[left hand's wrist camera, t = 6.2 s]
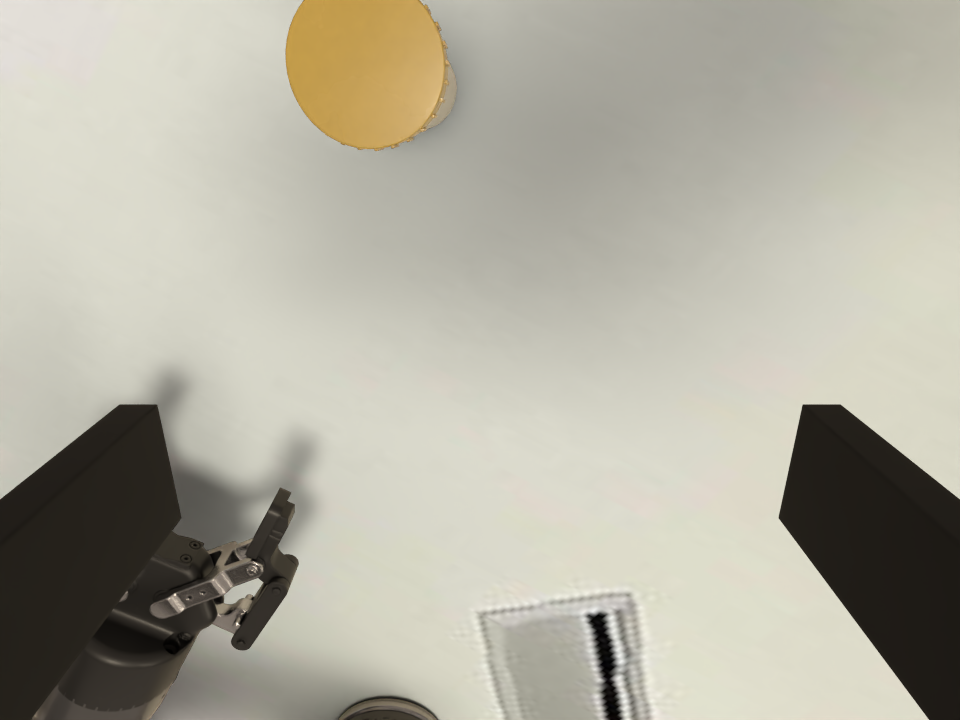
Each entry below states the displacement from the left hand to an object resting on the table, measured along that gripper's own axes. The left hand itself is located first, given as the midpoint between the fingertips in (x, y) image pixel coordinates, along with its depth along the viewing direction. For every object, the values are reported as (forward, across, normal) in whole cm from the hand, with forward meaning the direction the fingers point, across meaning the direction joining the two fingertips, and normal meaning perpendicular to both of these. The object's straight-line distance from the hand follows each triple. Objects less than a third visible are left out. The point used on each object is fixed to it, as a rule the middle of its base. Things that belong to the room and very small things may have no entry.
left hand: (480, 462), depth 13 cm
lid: (+10, +4, -8) cm, 14 cm away
